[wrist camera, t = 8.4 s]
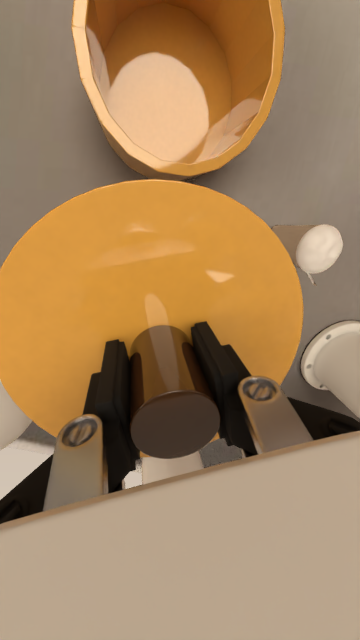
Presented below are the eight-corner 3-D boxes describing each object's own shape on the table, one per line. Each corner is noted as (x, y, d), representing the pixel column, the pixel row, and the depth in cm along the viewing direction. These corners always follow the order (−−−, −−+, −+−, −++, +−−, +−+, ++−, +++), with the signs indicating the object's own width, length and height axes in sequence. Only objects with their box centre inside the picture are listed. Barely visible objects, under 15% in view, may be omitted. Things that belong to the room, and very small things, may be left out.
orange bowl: (208, -40, 21) (253, -178, 13) (253, 148, 27) (300, 128, 19) (59, 37, 21) (18, -54, 13) (137, 205, 27) (139, 207, 20)
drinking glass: (137, 413, 40) (140, 522, 26) (140, 378, 37) (146, 479, 24) (179, 412, 41) (203, 515, 28) (186, 378, 38) (215, 474, 25)
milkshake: (249, 256, 32) (295, 278, 23) (270, 212, 30) (328, 218, 21) (278, 267, 33) (332, 292, 24) (300, 226, 31) (367, 238, 23)
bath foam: (-7, 322, 30) (-210, 502, 12) (49, 301, 30) (-70, 450, 12) (27, 366, 33) (-94, 562, 15) (77, 348, 33) (16, 520, 15)
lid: (251, 114, 10) (380, 23, 5) (309, 379, 16) (389, 460, 11) (-85, 276, 10) (-301, 353, 5) (105, 472, 17) (94, 590, 12)
